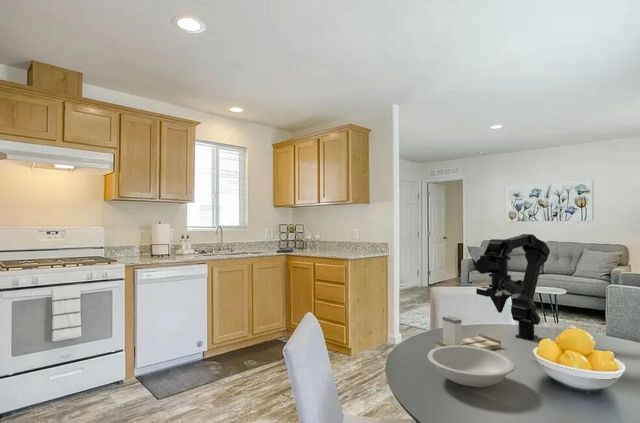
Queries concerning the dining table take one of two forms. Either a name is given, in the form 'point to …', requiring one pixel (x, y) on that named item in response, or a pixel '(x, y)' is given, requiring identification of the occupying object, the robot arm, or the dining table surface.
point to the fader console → (477, 342)
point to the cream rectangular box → (451, 331)
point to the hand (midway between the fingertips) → (500, 312)
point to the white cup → (558, 329)
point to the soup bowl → (471, 365)
